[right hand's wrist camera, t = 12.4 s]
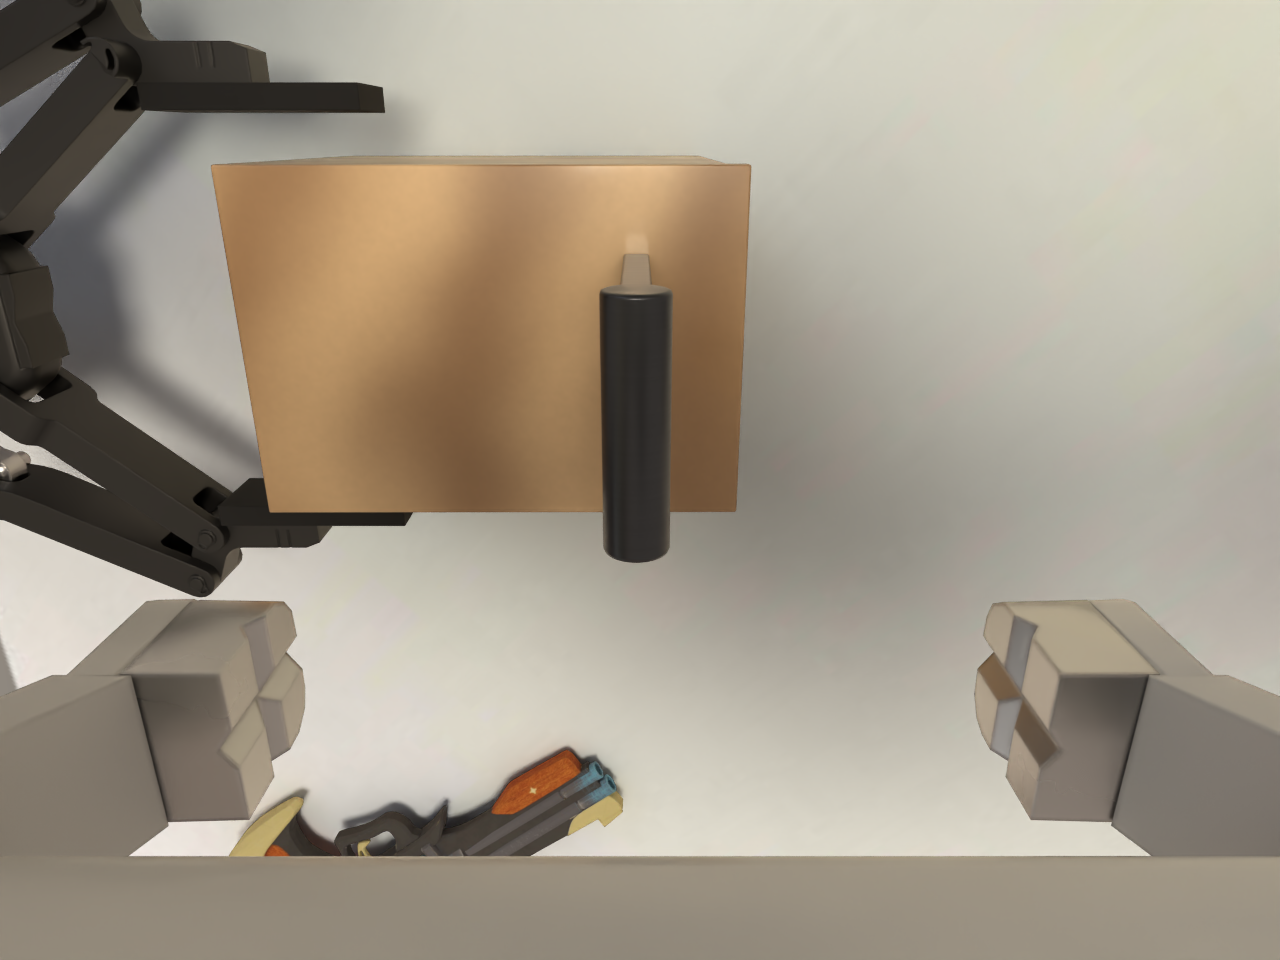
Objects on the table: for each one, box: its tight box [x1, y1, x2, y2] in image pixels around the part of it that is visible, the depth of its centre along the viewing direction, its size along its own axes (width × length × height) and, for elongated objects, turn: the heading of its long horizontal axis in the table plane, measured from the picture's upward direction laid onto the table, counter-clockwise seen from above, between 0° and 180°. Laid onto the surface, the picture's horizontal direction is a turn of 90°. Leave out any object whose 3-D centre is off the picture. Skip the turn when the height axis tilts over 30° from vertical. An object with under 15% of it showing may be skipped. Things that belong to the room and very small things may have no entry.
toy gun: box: [229, 750, 623, 856], centre depth 45 cm, size 3×19×10 cm
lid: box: [211, 164, 751, 563], centre depth 21 cm, size 14×10×8 cm
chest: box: [231, 156, 725, 164], centre depth 31 cm, size 14×10×11 cm
